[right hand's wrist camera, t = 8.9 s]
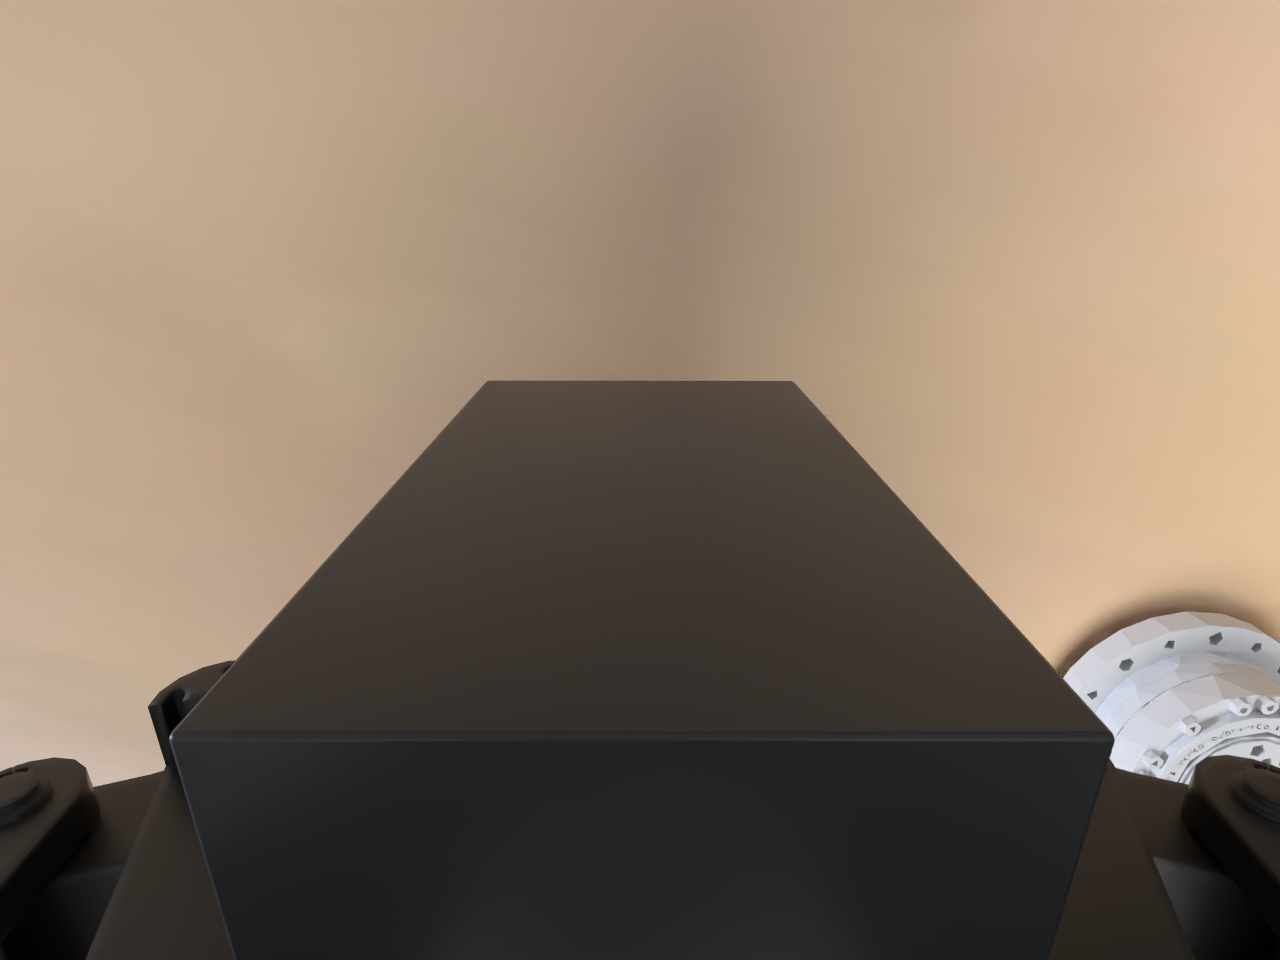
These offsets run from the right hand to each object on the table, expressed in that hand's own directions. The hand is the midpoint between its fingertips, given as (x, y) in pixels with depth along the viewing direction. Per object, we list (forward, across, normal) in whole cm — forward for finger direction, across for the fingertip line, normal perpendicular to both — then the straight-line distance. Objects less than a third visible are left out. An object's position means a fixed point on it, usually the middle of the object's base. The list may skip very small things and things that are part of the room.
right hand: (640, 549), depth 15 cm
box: (+1, 0, -8) cm, 8 cm away
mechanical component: (+11, +22, -13) cm, 28 cm away
